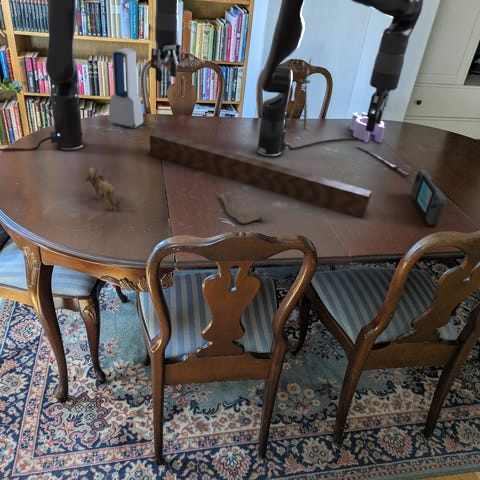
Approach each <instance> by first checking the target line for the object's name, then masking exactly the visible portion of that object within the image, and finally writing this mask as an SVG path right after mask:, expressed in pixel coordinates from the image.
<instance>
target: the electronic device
mask: <svg viewBox="0 0 480 480" xmlns="http://www.w3.org/2000/svg"><path fill="white" fill-rule="evenodd" d="M111 58H112V60H111V61H112V78H113V79H112V81H113V94H111V96H110V100H109V113H108V119H109V121H110V123H111V124H113V125H116V126H121V127H124V128H125V127H126V128H129V129H136V128H138V127H140V126H141V125H142V124H143V123H144V113H143V105H142V98H141V96H140V95H139V94H138V82H137V81H138V80H137V79H138V78H137V51H135V50H134V49H132V48H128V47H124V48H123V47H122V48H120V49H117V50H114V51H113V50H112V51H111ZM124 59H125V60H124ZM124 63H125V64H124Z"/></svg>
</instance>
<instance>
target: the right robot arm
mask: <svg viewBox="0 0 480 480" xmlns="http://www.w3.org/2000/svg"><path fill="white" fill-rule="evenodd" d="M350 1H351V2H353V3H356V4H358V5H361V6H364V7H367V8H369V9H370V8H371V9H374V10H376V11H377V12H379V13H381V14H383V15H385V16H387V17H388V16H389V17H391V18H392V20H391V22H390V24H389V25H388V26H387V27H386V28H384V30H383V31H382V35H381V38H380V41H379V45H378V50H377V54H376V55H375V60H374V63H373V67H372V72H371V76H370V80H369V86H370V87H372V88H374V89H375V91H374V93H372V95H371V97H370V98H371V99H370V102H369V106H368V110H367V113H366V114H367V117H368V122H367V126H366V131H370V132H373V131H374V128H375V124H376V123H377V124H379V123H380V121H382V117H383V114H384V112H385V110H386V108H387V106H388V105H387V104H388V100H389V97H390V92H391V91H395V90H396V89H397V88H398V86H399V83H400V79H401V75H402V71H403V69H404V63H405V57H406V52H407V48H408V45H409V41H410V37H411V34H412V33H413V31H414V29H415V27H416V25H417V22H418V20H419V18H420V15H421V13H422V11H423V6H424V0H350ZM304 3H305V0H281V3H280V7H279V12H278V15H277V16H278V17H277V19H276V23H275V27H274V31H273V35H272V39H271V45H270V47H269V48H270V49H269V53H268V56H267V59H266V62H265V64H264V67H263V70H262V74H261V78H260V87H261V90H263V91H264V92H266V93H273V94H276V95H275V96H274V97H272V98H269V99H266V100H263V102H262V105H261V114H260V123H259V131H258V138H257V139H258V140H257V148H256V153H257V154H258V155H259V156H262V157H264V158H265V157H266V158H277V157H279V156H281V155H282V154H283V151H286V147H287V148H288V149H289V150H299V149H303V148H306V147H310V146H314V145H318V144H324V143H330V142H340V141H353V140H359V139H358V137H344V138H343V137H342V138H333V139H325V140H320V141H315V142H311V143H308V144H307V143H306V144H303V145H298V146H296V147H292V146H291V145H290V144H287V142H285V136H286V130H284V128H285V122H286V115H287V108H288V103H289V99H290V93H291V88H292V83H293V71H292V68H291V67H288V66H279V65H281V64H282V62H284V61H285V60H286V59H287V58H289V57H290V56H291V55H293V54H294V53H295V52H296V51H297V49H298V48H299V46H300V45H301V41H302V38H303V35H304V32H305V20H304V16H303V13H302V11H303V6H304Z"/></svg>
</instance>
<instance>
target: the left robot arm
mask: <svg viewBox="0 0 480 480" xmlns="http://www.w3.org/2000/svg"><path fill="white" fill-rule="evenodd" d="M179 1H180V0H155V18H154V19H155V20H154V38H155V39H154V41H155V43H156V44H157V48H151V52H150V53H151V54H150V68H152V69H154V70H155V78H154V79H155V81H156V82H163V68H164V65H166V64H167V62H169V64H170V66H169V76H170V77H172V78H176V77H177V73H178V72H177V69H178V65H179V64H181V62H182V44H179V33H180V31H179V29H180V19H179V17H180V16H179V5H180V4H179V3H180V2H179ZM79 3H80V0H47V25H48V27H47V28H48V47H47V54H46V60H45V70H46V74H47V75H48V77H49V82H50V84H49V85H50V89H49V90H50V92H49V94H50V101H51V102H50V103H51V110H52V116H53V127H54V128H53V129H54V130H53V131H49V135H50V136H48V137H46V138H43V139H41V140H40V141H39V142H38V144H37V146H34V147H32V148H21V147H19V148H18V147H9V148H7V147H6V148H0V152H5V151H7V152H8V151H22V152H23V151H35V150H37V149H39V148H40V146H41V144H42V143H44V142H46V141H48V140H50V142H51V144H56V149H57V150H59V151H60V150H62V151H77V150H80V149H83V147H84V140H83V139H84V138H83V135H84V134H83V129H82V120H81V108H80V98H79V97H80V96H79V79H78V67H77V63H76V60H75V58H74V37H75V32H76V27H77V22H78V18H79V17H78V16H79V8H80V7H79V6H80V4H79Z"/></svg>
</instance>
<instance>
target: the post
mask: <svg viewBox="0 0 480 480" xmlns="http://www.w3.org/2000/svg"><path fill="white" fill-rule="evenodd" d="M149 155H150V156H153V157H156V158H161V159H164V160H167V161H170V162H174V163H177V164H180V165H183V166H187V167H190V168H193V169H196V170H200V171H203V172H206V173H210V174H214V175H217V176H220V177H224V178H227V179H229V180H234V181H237V182H240V183H244V184H247V185H251V186H254V187H258V188H260V189H264V190H268V191H269V192H274V193H277V194H281V195H283V196H287V197H290V198H294V199H297V200H301V201H304V202H307V203H310V204H315V205H318V206H321V207H324V208H326V209H327V208H328V209H331V210H334V211H338V212H341V213H344V214H347V215H351V216H355V217H357V218H361V219H363V218H364V217H365V215H366V213H367V211H368V208H369V204H370V200H371V196H372V193H373V191H372V190H369V189H366V188H361V187H358V186H355V185H351V184H347V183H344V182H340V181H337V180H333V179H329V178H325V177H323V176H320V175H319V176H318V175H315V174H311V173H309V172H304V171H300V170H297V169H293V168H290V167H286V166H284V165H283V166H282V165H279V164H275V163H272V162H268V161H264V160H261V159H257V158H253V157H250V156H247V155H243V154H239V153H236V152H233V151H228V150H225V149H222V148H218V147H214V146H211V145H206V144H203V143H201V142H200V143H199V142H196V141H192V140H189V139H185V138H182V137H178V136H174V135H170V134H167V133H163V132H160V131H155V132H154V133H151V134H150V135H149Z"/></svg>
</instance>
